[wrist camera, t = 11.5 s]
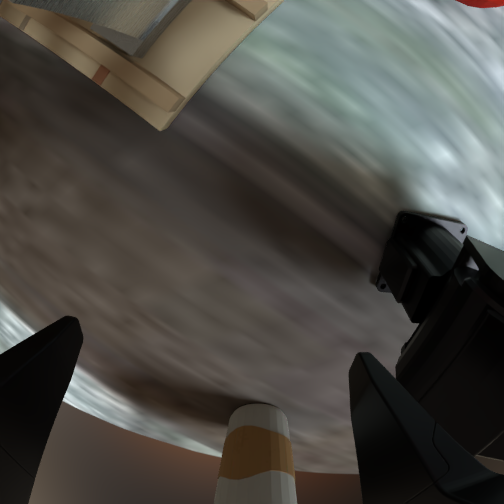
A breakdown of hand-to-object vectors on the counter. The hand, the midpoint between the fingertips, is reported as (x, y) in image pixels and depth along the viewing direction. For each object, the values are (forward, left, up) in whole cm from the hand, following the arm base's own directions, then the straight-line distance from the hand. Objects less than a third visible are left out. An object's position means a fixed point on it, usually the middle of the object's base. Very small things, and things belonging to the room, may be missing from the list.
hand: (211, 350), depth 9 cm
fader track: (+10, -15, -13) cm, 22 cm away
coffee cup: (-4, +24, -13) cm, 28 cm away
